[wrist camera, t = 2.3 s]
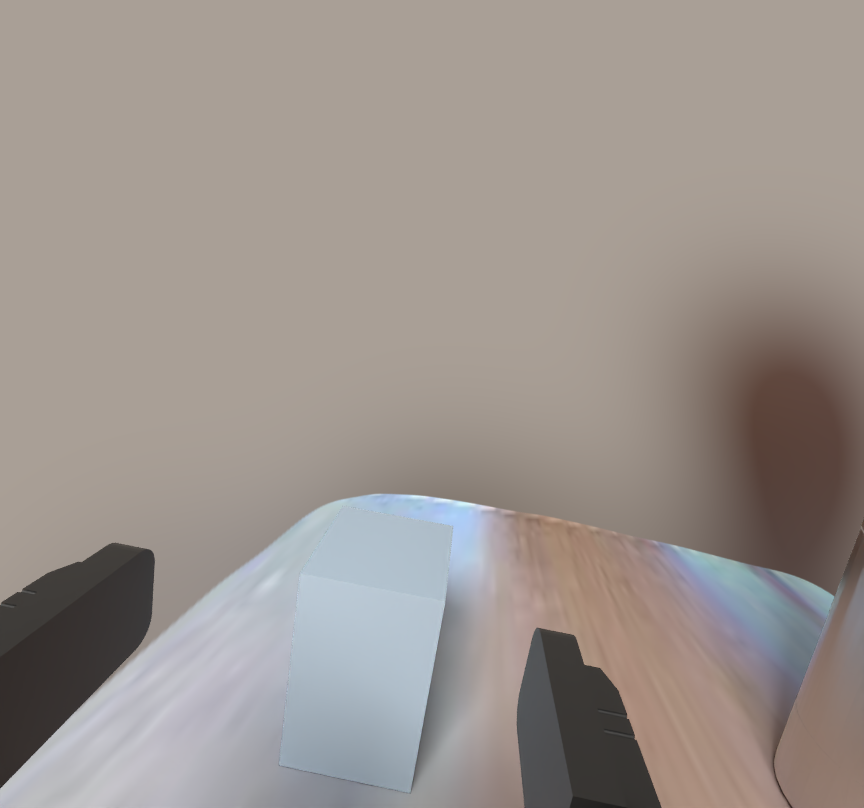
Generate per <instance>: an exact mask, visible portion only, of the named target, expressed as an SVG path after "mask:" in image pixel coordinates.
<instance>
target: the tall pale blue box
mask: <svg viewBox="0 0 864 808" xmlns="http://www.w3.org/2000/svg"><path fill="white" fill-rule="evenodd" d="M452 534H453V526H450V525H444V524H439V523H433V522H428V521H423V520H417V519H412V518H406V517H401V516H396V515H390V514H385V513H379V512H374V511H369V510H363V509H358V508H352V507H347V506H342V508H341V509H340V511H339V513H338V514H337V516H336V517H335V519H334V520H333V522H332V524H331V525H330V527H329V528H328V530H327V531H326V533H325V535H324V536H323V538H322V539H321V541H320V542H319V544H318V546H317V547H316V549H315V550H314V552H313V553H312V555H311V556H310V558H309V560H308V561H307V563H306V564H305V566H304V567H303V569H302V571H301V572H300V576H299V585H298V595H297V604H296V613H295V622H294V631H293V640H292V649H291V658H290V668H289V677H288V686H287V695H286V704H285V713H284V722H283V731H282V741H281V750H280V759H279V766H284V767H289V768H294V769H298V770H303V771H308V772H312V773H317V774H322V775H326V776H331V777H336V778H340V779H345V780H350V781H355V782H359V783H364V784H369V785H373V786H378V787H383V788H387V789H392V790H397V791H401V792H406V793H410V792H411V787H412V781H413V776H414V770H415V765H416V759H417V754H418V749H419V743H420V738H421V732H422V727H423V721H424V716H425V710H426V705H427V699H428V694H429V689H430V683H431V678H432V672H433V667H434V661H435V656H436V650H437V645H438V639H439V634H440V629H441V623H442V618H443V612H444V607H445V601H446V592H447V582H448V572H449V563H450V553H451V543H452Z"/></svg>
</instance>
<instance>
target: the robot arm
mask: <svg viewBox="0 0 864 808" xmlns="http://www.w3.org/2000/svg"><path fill="white" fill-rule="evenodd" d="M154 564H155V559H154V554H153V552H152V551H151V550H149V549H144V548H139V547H134V546H129V545H124V544H119V543H111V544H109V545H108V546H106V547H104V548H103V549H101V550H100V551H98V552H97V553H95V554H94V555H92V556H91V557H89V558H87V559H86V560H85V561H83V562H76V563H74V564H71V565H68V566H66V567H63V568H60V569H57V570H55V571H52V572H50V573H47V574H45V575H44V576H42V577H41V578H39V579H38V580H36V581H34V582H33V583H31V584H30V585H28V586H26V587H25V588H23V590H22V592H21V593H20V592H17V593H16V594H14V595H12V596H11V597H9V598H8V599H6V600H5V601H3V602H2V603H1V605H0V788H1V787H2V786H3V785H4V784H5V783H6V782H7V781H8V780H9V779H10V778H11V777H12V776H13V775H14V774H15V773H16V772H17V771H18V770H19V769H20V768H21V767H22V766H23V765H24V764H25V762H26V761H27V760H28V759H29V758H30V757H31V756H32V755H33V754H34V753H35V752H36V751H37V750H38V749H39V748H40V747H41V746H42V745H43V744H44V743H45V742H46V741H47V740H48V739H49V738H50V737H51V736H52V735H53V734H54V733H55V732H56V731H57V730H58V729H59V728H60V727H61V726H62V725H63V724H64V723H65V721H66V720H67V719H68V718H69V717H70V716H71V715H72V714H73V713H74V712H75V711H76V710H77V709H78V708H79V707H80V706H81V705H82V704H83V703H84V702H85V701H86V700H87V699H88V698H89V697H90V696H91V695H92V694H93V693H94V692H95V691H96V690H97V689H98V688H99V687H100V686H101V685H102V683H104V682H105V680H106V679H107V678H108V677H109V676H110V675H111V674H112V673H113V672H114V671H115V670H116V669H117V668H118V667H119V666H120V665H121V664H122V663H123V662H124V661H125V660H126V659H127V658H128V657H129V656H130V655H131V654H132V653H133V652H134V650H136V648H137V647H138V646H139V645H140V643H141V642H142V640H143V639H144V637H145V635H146V632H147V630H148V628H149V625H150V622H151V615H152V601H153V583H154ZM517 734H518V744H519V754H520V764H521V774H522V785H523V795H524V805H525V808H661V805H660V802H659V800H658V797H657V794H656V792H655V789H654V786H653V783H652V781H651V778H650V775H649V773H648V770H647V767H646V764H645V762H644V759H643V756H642V754H641V751H640V748H639V745H638V743H637V740H635V739H634V732H633V729H632V726H631V724H630V721H629V719H627V713H626V710H625V707H624V705H623V702H622V699H621V697H620V694H619V691H618V690H617V688H616V687H615V686H614V685H613V683H612V682H611V681H610V680H609V679H608V677H607V676H606V675H605V674H604V672H603V671H602V670H601V669H600V668H597V667H592V666H587V665H584V663H583V659H582V656H581V653H580V649H579V646H578V643H577V640H576V637H575V636H574V635H571V634H566V633H561V632H556V631H551V630H546V629H541V628H536V630H535V632H534V634H533V638H532V642H531V646H530V650H529V655H528V659H527V663H526V667H525V672H524V676H523V680H522V684H521V689H520V693H519V699H518V707H517ZM774 768H775V773H776V778H777V780H778V782H779V784H780V787H781V789H782V791H783V793H784V795H785V797H786V798H787V800H788V801H789V803H790V804H791V806H792V808H864V519H863V522H862V525H861V529H860V531H859V534H858V537H857V539H856V542H855V544H854V547H853V550H852V553H851V555H850V558H849V560H848V563H847V566H846V568H845V571H844V573H843V576H842V579H841V582H840V584H839V587H838V590H837V592H836V595H835V597H834V600H833V603H832V605H831V608H830V610H829V613H828V616H827V618H826V621H825V624H824V626H823V629H822V632H821V634H820V637H819V640H818V642H817V645H816V647H815V650H814V653H813V655H812V658H811V661H810V663H809V666H808V669H807V671H806V674H805V677H804V679H803V682H802V684H801V687H800V690H799V692H798V694H797V697H796V699H795V702H794V705H793V707H792V710H791V713H790V715H789V718H788V721H787V723H786V726H785V729H784V731H783V734H782V737H781V739H780V742H779V745H778V747H777V750H776V753H775V759H774Z"/></svg>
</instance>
